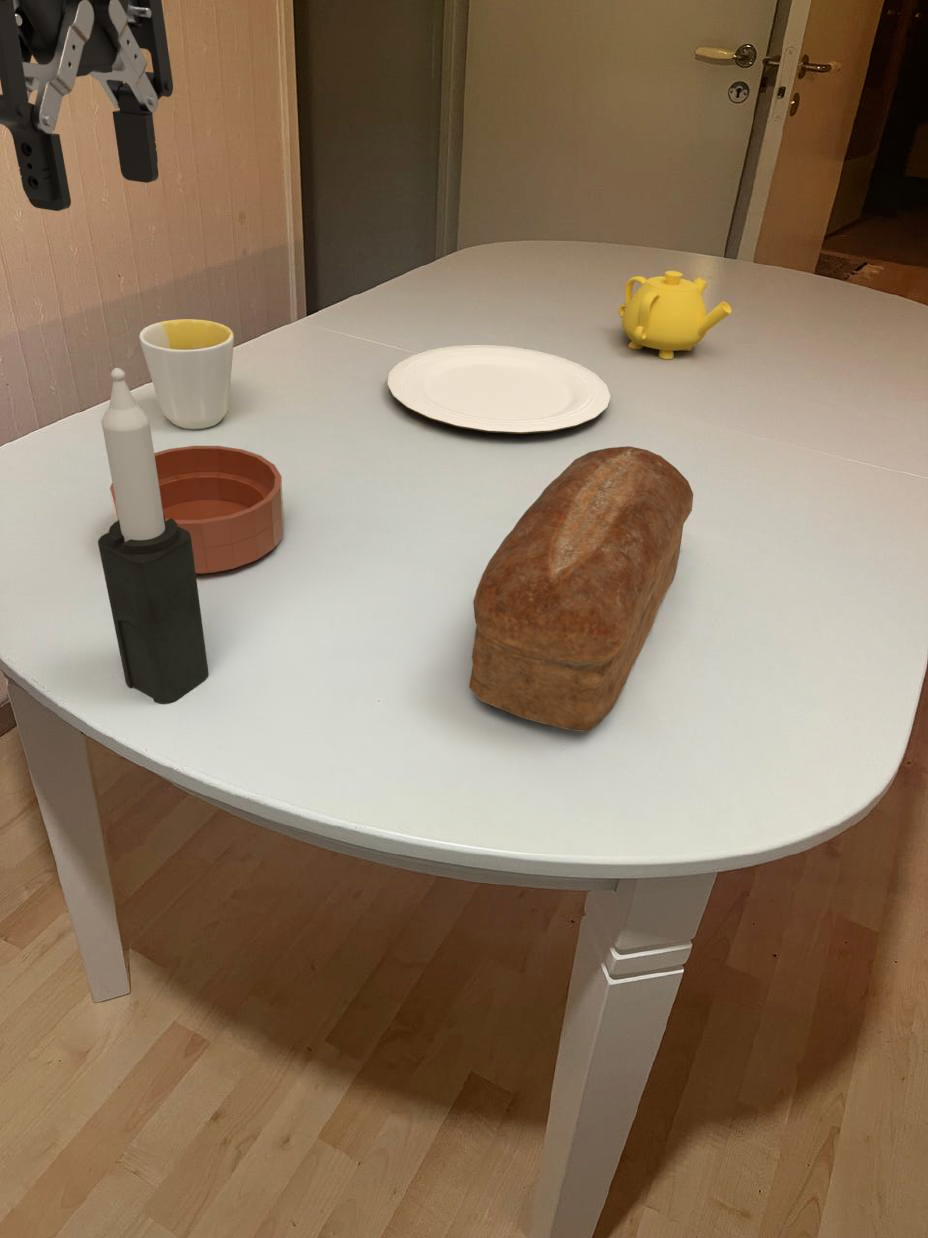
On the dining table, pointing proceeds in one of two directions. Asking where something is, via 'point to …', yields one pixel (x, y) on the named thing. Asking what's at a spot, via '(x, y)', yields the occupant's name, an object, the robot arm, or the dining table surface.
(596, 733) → the dining table surface
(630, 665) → the bread
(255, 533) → the bowl
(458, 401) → the plate
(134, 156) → the robot arm
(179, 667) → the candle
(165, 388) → the mug
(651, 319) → the teapot
